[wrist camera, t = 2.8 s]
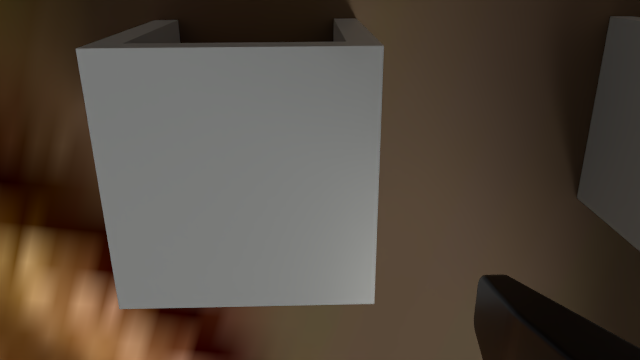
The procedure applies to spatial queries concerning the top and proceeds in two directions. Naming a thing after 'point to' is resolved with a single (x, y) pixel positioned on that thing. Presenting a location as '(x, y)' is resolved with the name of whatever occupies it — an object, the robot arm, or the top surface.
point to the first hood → (616, 134)
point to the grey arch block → (237, 166)
